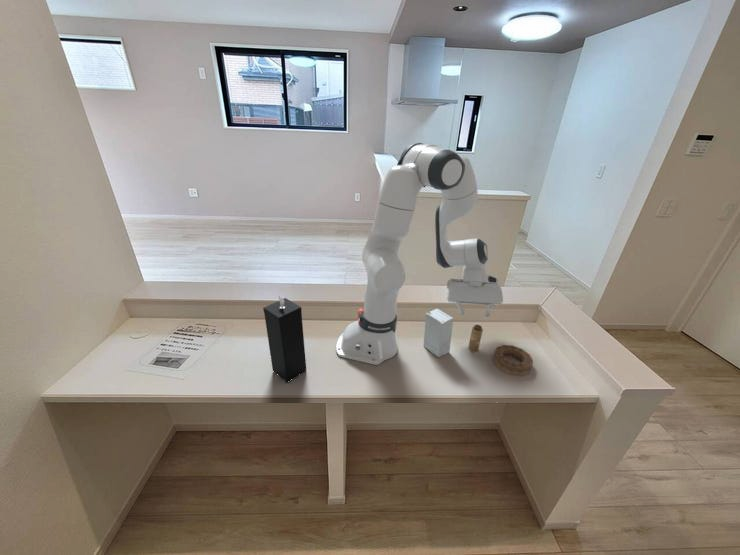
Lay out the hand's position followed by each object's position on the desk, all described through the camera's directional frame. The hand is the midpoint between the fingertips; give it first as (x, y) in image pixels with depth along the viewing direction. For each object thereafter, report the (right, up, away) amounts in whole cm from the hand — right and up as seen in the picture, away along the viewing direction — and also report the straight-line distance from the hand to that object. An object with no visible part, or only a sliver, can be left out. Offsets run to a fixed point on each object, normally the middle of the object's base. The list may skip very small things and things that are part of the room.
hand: (474, 315), depth 116 cm
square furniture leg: (-66, -17, -14) cm, 69 cm away
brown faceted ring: (+10, -16, -7) cm, 20 cm away
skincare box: (-15, -13, -1) cm, 20 cm away
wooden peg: (-1, -12, -1) cm, 12 cm away
